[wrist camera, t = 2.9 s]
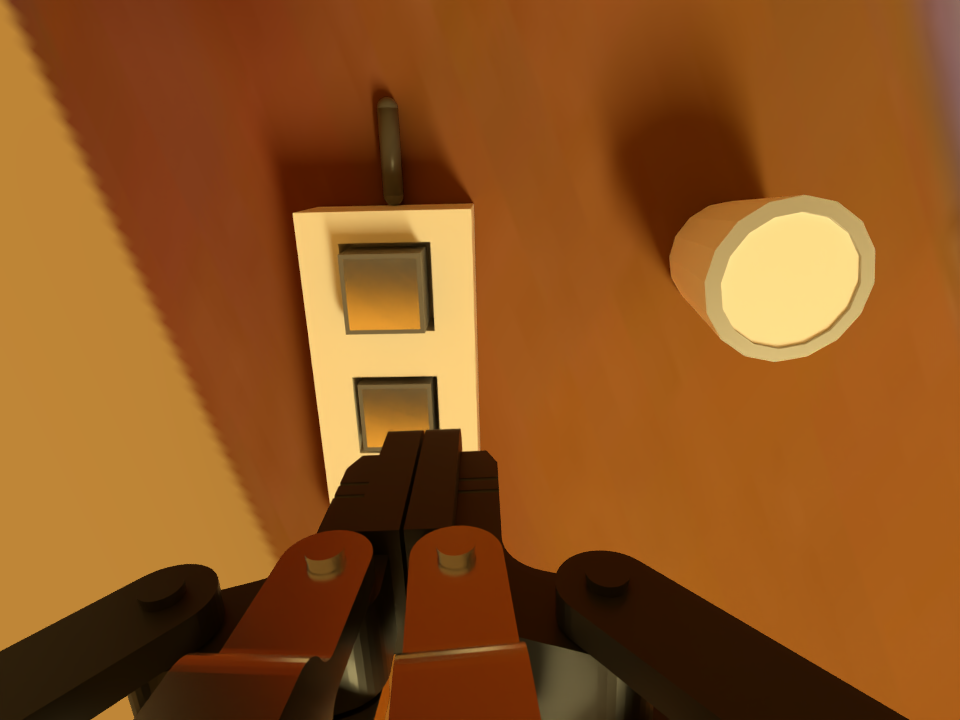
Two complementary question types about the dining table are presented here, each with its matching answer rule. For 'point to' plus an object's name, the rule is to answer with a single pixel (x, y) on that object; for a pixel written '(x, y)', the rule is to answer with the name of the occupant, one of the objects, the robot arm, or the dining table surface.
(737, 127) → the dining table surface
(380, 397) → the switch middle
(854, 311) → the white soft cylinder
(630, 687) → the robot arm
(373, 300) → the switch
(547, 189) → the dining table surface
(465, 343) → the power strip
